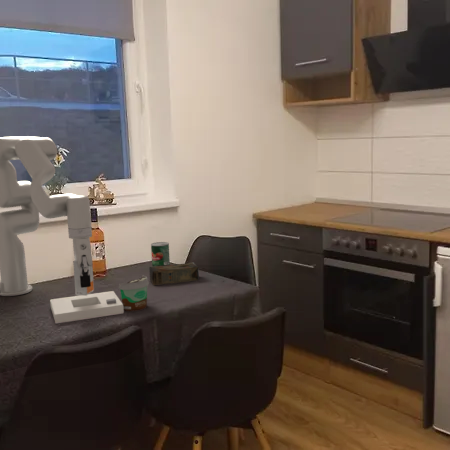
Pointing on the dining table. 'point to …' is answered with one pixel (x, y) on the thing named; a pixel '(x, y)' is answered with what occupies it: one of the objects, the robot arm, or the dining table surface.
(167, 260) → the canned tomato
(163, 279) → the olive curved block
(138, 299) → the food container
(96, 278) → the dining table surface
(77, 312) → the socket plate
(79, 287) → the skincare box
